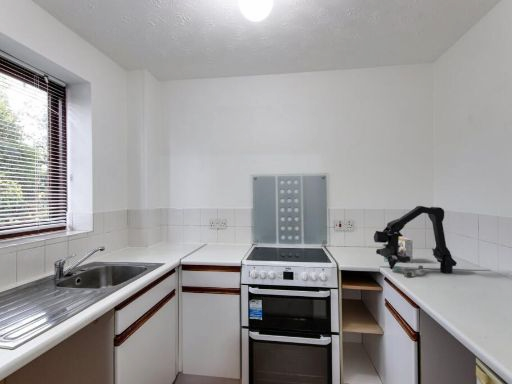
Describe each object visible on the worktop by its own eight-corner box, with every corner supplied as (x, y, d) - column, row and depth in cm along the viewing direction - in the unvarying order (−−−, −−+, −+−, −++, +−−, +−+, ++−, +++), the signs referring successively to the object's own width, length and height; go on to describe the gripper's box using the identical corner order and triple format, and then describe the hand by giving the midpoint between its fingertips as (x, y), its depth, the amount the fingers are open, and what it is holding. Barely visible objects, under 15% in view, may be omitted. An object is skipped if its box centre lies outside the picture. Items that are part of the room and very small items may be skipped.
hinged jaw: (417, 271, 147) (417, 267, 147) (418, 272, 145) (418, 268, 145) (392, 271, 148) (392, 267, 148) (393, 272, 146) (393, 268, 146)
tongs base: (405, 269, 157) (405, 260, 157) (435, 278, 140) (435, 268, 140) (385, 273, 149) (384, 264, 149) (414, 283, 133) (414, 273, 133)
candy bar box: (396, 259, 178) (396, 236, 178) (403, 259, 178) (403, 236, 178) (405, 264, 167) (405, 239, 167) (412, 264, 167) (412, 239, 167)
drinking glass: (402, 264, 167) (402, 246, 167) (391, 265, 164) (391, 247, 164) (389, 260, 177) (389, 243, 177) (379, 261, 173) (378, 244, 173)
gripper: (370, 240, 154) (368, 265, 154) (397, 248, 137) (396, 276, 137) (383, 239, 158) (381, 263, 159) (411, 246, 141) (410, 274, 142)
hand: (391, 269), depth 149 cm, fingers closed
